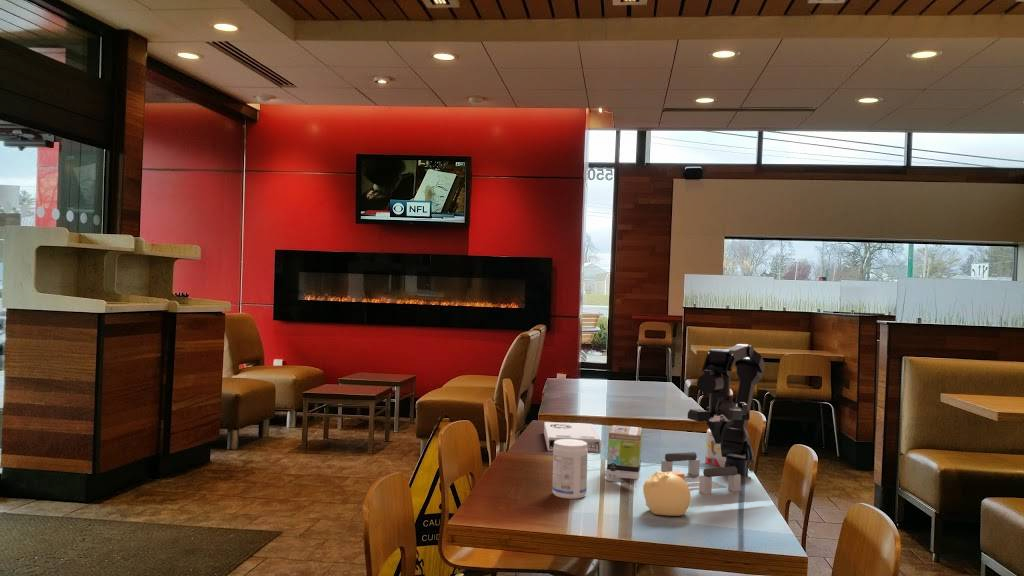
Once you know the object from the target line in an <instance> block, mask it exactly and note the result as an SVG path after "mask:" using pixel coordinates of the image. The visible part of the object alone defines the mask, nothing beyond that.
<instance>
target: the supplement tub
mask: <svg viewBox="0 0 1024 576" xmlns="http://www.w3.org/2000/svg"><path fill="white" fill-rule="evenodd" d="M588 453H589V452H588V450H587V443H586V442H585V441H582V440H576V439H560V440H556V441H555V442H554V448H553V451H552V489H551V490H552V491H551V492H552V494H553V496H555V497H558V498H560V499H568V500H575V499H581V498H584V497H585V496H586V495H587V491H588V489H587V488H588V485H587V484H588V483H587V482H588Z"/></svg>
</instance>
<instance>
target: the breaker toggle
mask: <svg viewBox="0 0 1024 576" xmlns="http://www.w3.org/2000/svg"><path fill="white" fill-rule="evenodd" d="M672 472H673V474H675V475H677V476H679V477H681V478H682V479H683V480H684V477H685V473H683V472H680V471H672Z"/></svg>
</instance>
